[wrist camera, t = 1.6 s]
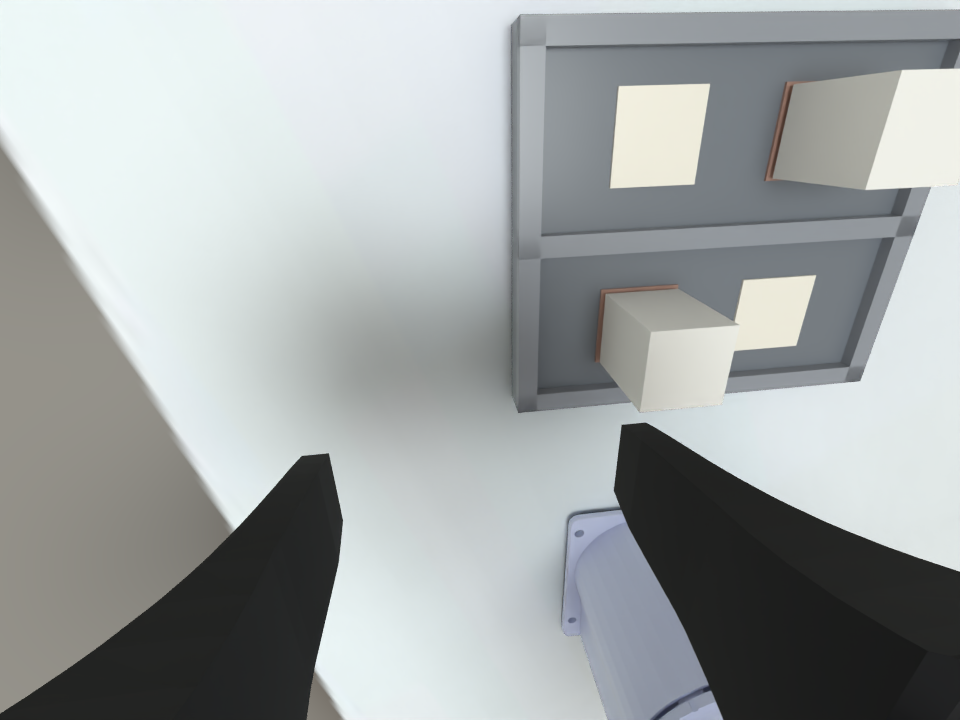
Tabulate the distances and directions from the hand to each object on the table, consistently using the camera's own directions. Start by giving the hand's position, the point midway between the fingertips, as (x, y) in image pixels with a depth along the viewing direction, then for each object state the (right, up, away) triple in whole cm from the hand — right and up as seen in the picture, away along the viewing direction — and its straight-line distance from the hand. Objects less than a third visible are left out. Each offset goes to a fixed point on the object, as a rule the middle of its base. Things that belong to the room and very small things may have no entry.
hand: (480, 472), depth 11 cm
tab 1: (+6, +4, +8) cm, 11 cm away
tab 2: (+12, +11, +5) cm, 17 cm away
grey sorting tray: (+9, +8, +8) cm, 15 cm away
